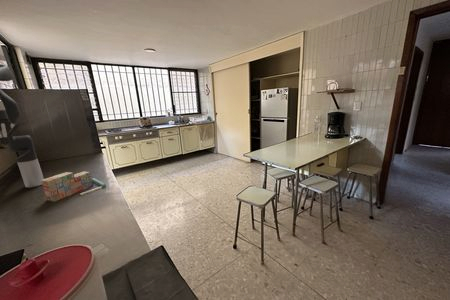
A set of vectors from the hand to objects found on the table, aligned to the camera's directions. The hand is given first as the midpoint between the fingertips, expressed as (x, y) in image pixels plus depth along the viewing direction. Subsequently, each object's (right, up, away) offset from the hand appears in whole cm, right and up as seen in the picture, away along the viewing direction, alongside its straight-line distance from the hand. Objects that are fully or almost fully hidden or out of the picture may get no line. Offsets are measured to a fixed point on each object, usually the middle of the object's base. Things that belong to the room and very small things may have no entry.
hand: (5, 144), depth 93 cm
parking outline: (+25, -26, +22) cm, 42 cm away
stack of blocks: (+20, -28, +17) cm, 38 cm away
